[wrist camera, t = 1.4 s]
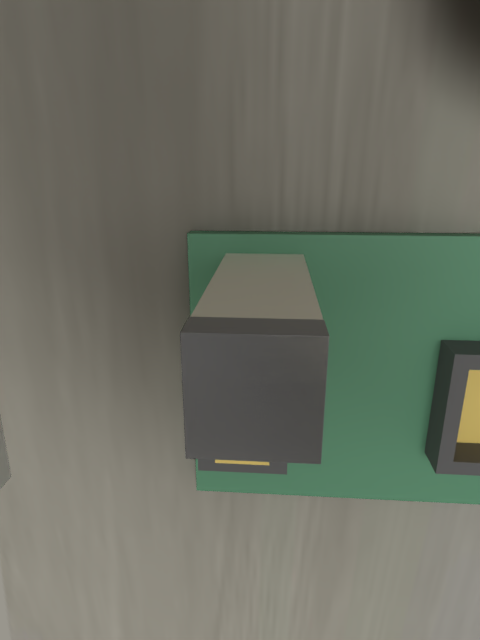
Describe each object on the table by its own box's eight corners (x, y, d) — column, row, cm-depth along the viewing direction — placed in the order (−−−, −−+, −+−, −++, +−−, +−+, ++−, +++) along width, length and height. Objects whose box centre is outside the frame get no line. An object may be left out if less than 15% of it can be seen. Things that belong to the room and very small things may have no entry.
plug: (225, 252, 24) (180, 332, 13) (304, 253, 24) (329, 336, 12) (226, 326, 25) (185, 458, 14) (300, 327, 25) (321, 464, 14)
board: (190, 230, 25) (178, 240, 22) (665, 235, 23) (724, 246, 20) (199, 479, 30) (190, 515, 27) (588, 498, 28) (625, 538, 25)
